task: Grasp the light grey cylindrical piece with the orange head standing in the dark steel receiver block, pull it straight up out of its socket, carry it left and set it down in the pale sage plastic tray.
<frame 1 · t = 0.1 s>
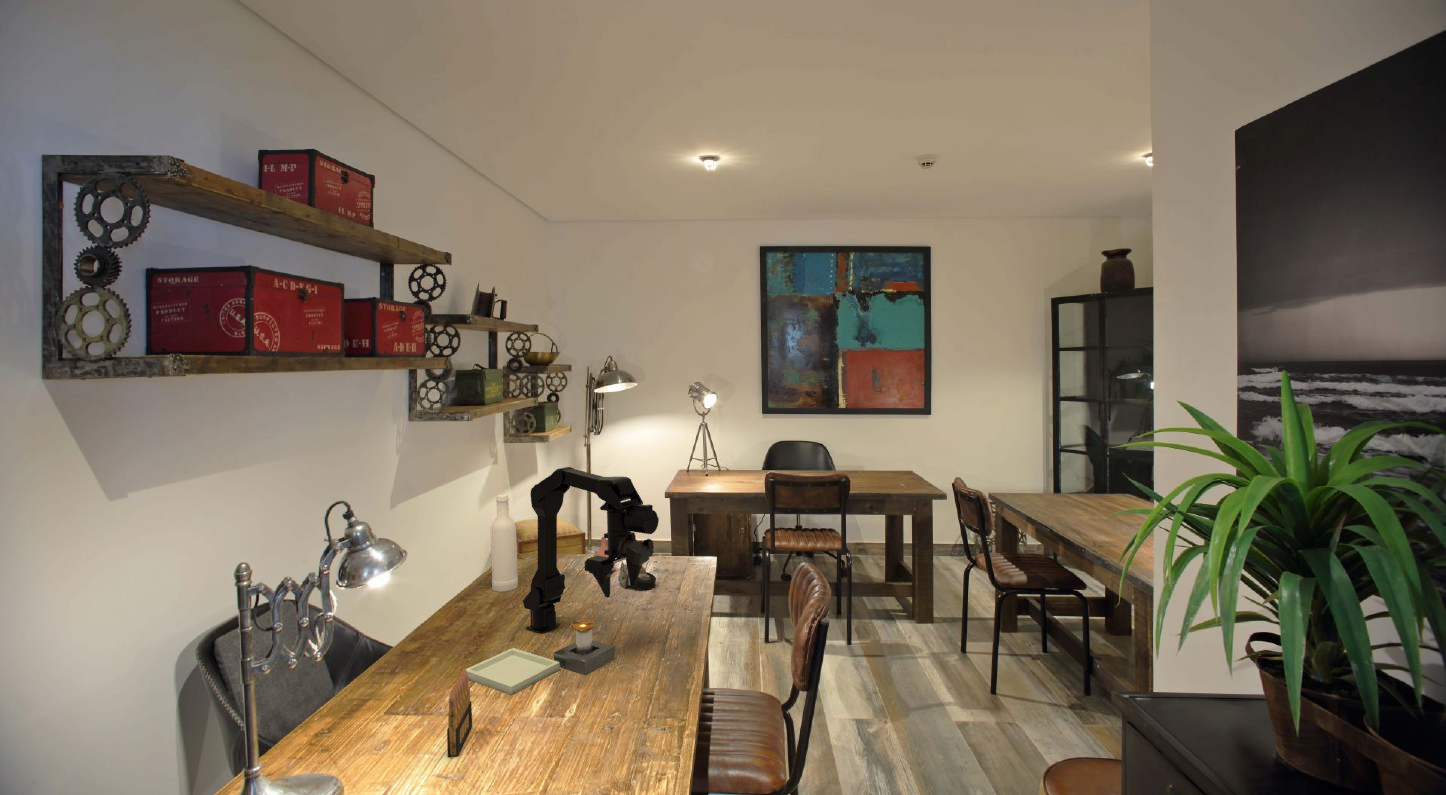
hand: (620, 591, 166), 15 cm above the table, fingers open, 9 cm apart
pink vase: (604, 572, 231), on the table
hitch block: (584, 662, 160), on the table
tray: (512, 673, 154), on the table
ammunition clip: (460, 742, 126), on the table
caster wheel: (638, 587, 215), on the table
bottle: (505, 588, 216), on the table
light grey cylindrical piece: (584, 642, 160), in the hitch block
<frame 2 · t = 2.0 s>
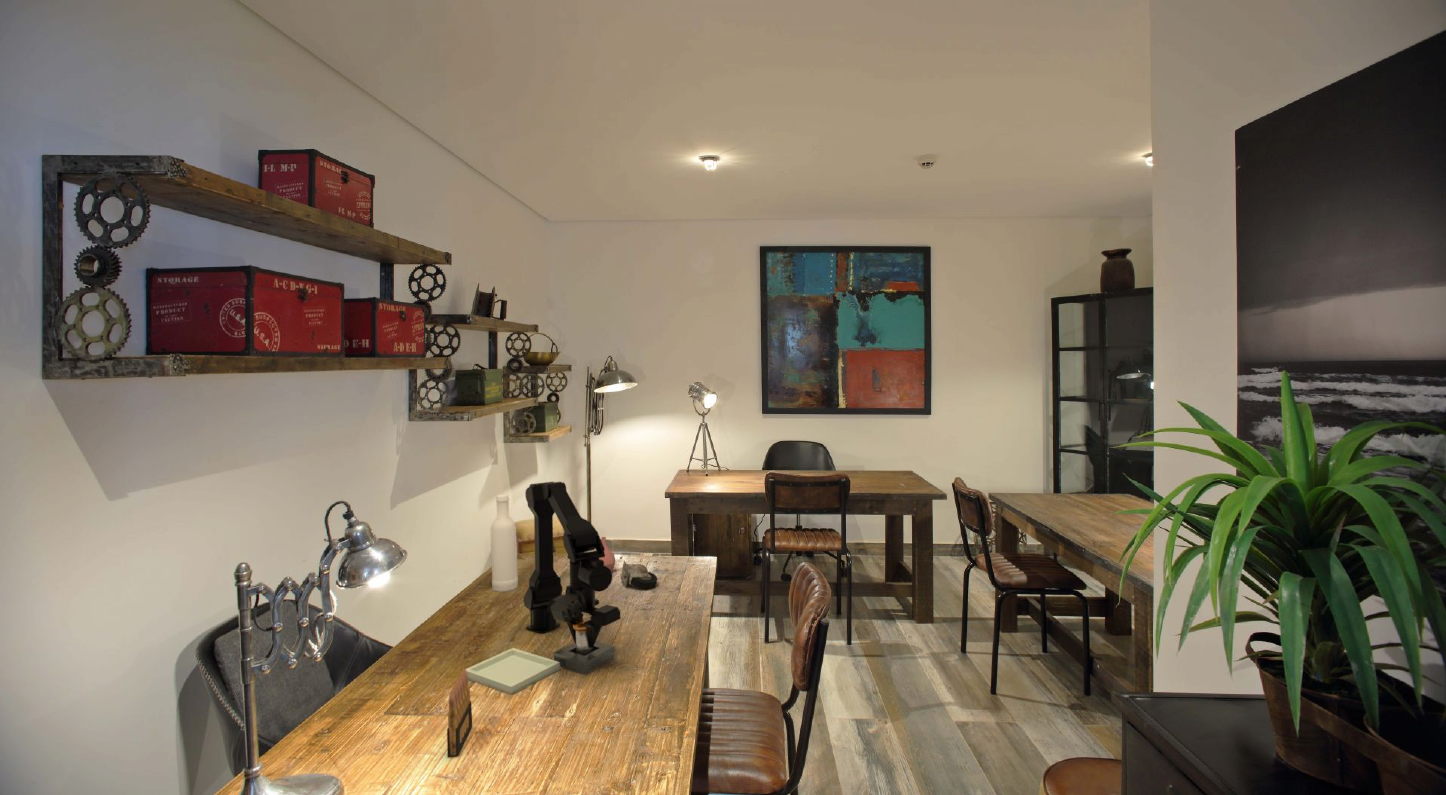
hand: (584, 645, 160), 4 cm above the table, fingers closed on light grey cylindrical piece, 4 cm apart
light grey cylindrical piece: (584, 642, 160), in the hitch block, touching gripper
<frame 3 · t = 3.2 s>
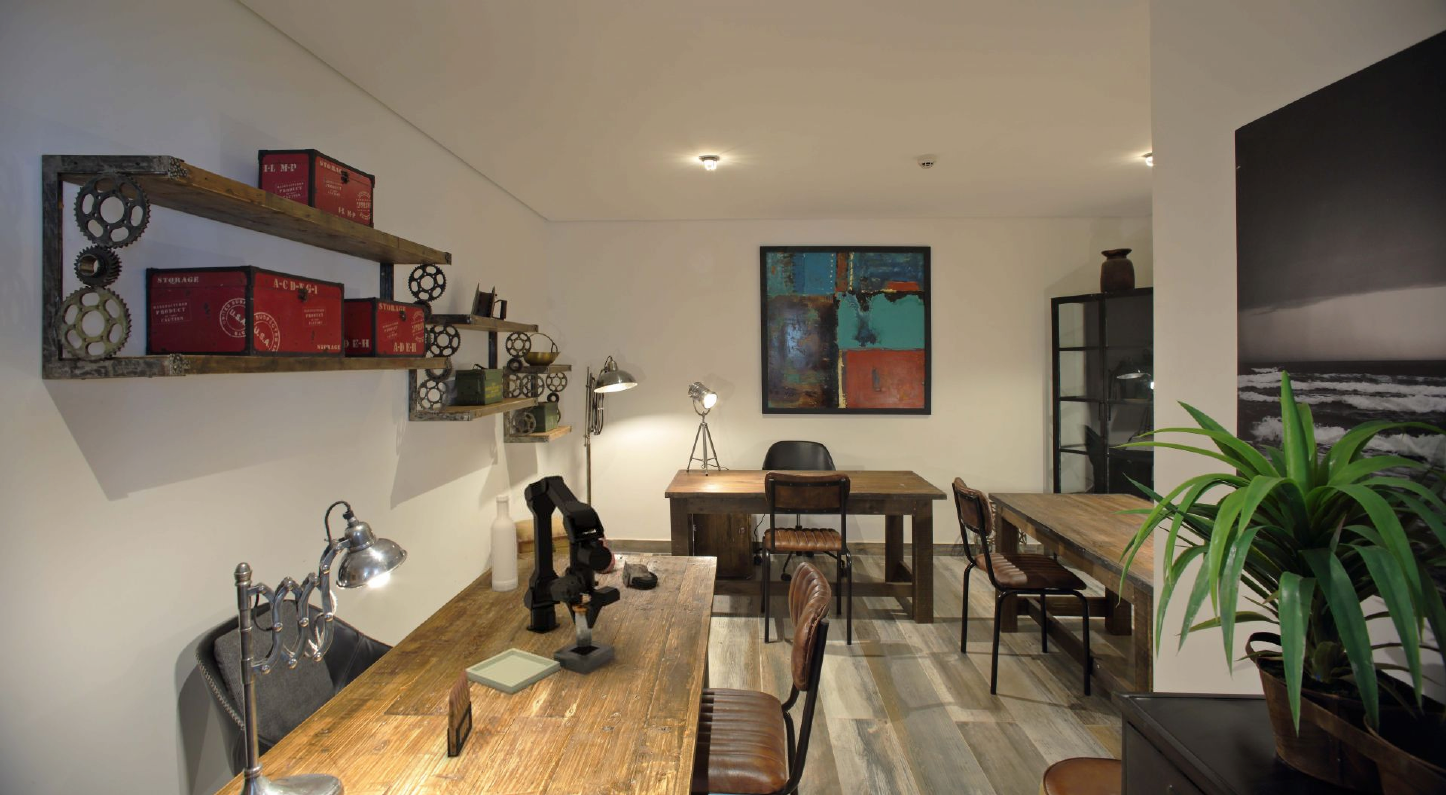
hand: (583, 626, 159), 9 cm above the table, fingers closed on light grey cylindrical piece, 4 cm apart
light grey cylindrical piece: (583, 623, 159), point 9 cm above the table, touching gripper
everything else where it was.
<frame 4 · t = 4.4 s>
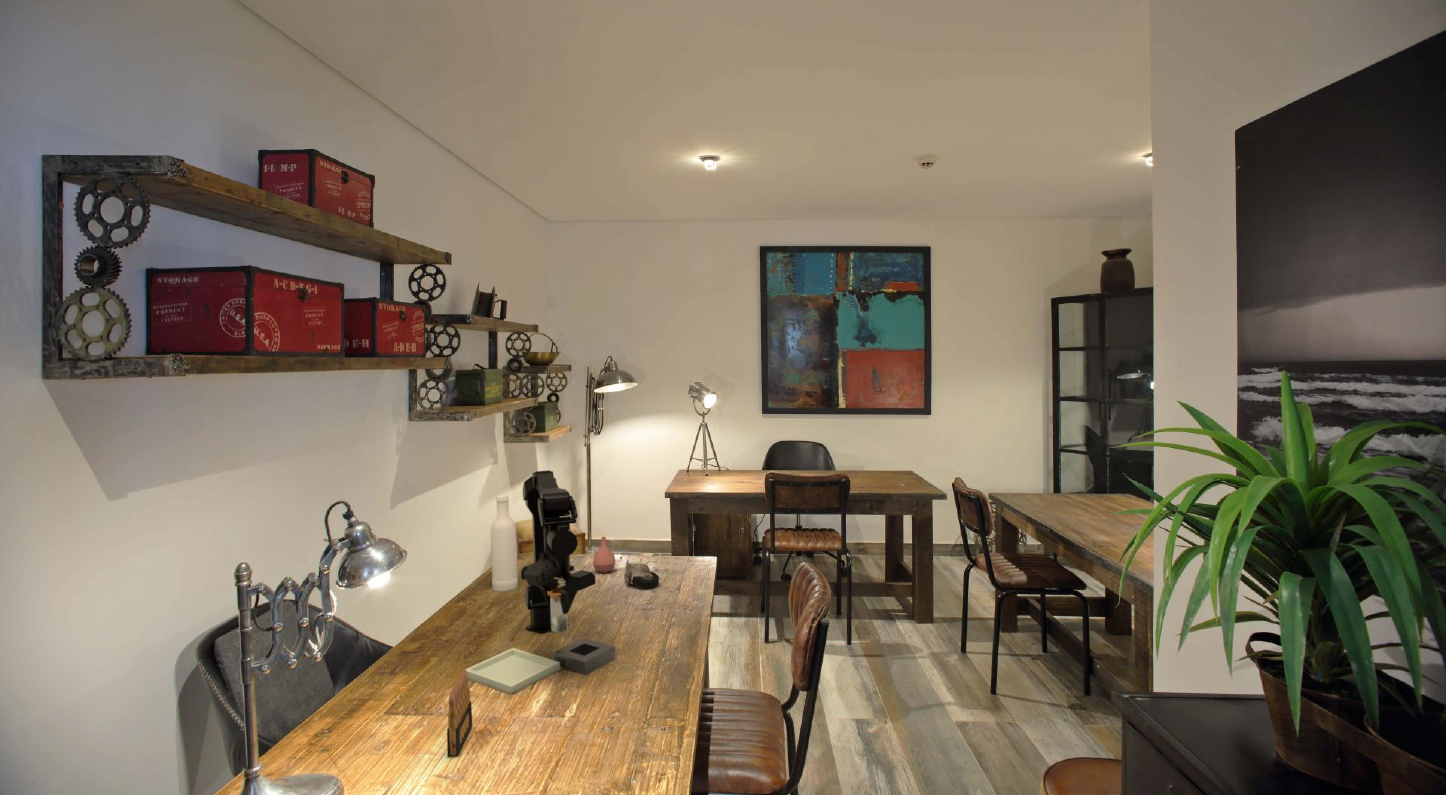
hand: (558, 611, 157), 13 cm above the table, fingers closed on light grey cylindrical piece, 4 cm apart
light grey cylindrical piece: (558, 608, 157), point 14 cm above the table, touching gripper
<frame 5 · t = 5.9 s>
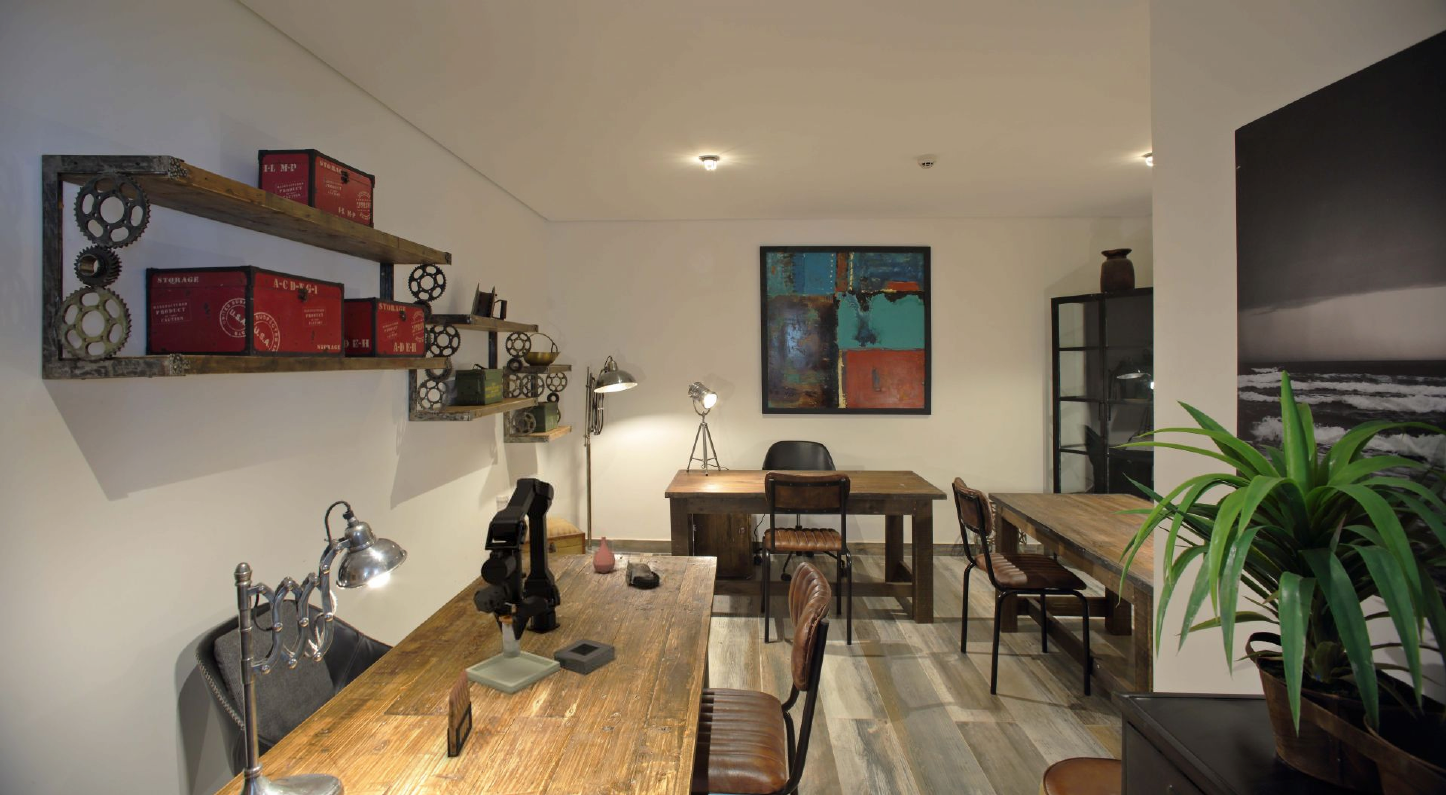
hand: (511, 637, 154), 8 cm above the table, fingers closed on light grey cylindrical piece, 4 cm apart
light grey cylindrical piece: (511, 634, 154), point 9 cm above the table, touching gripper
when the fingers open (5 cm above the table, at t = 6.8 s): light grey cylindrical piece stays where it is, resting on tray.
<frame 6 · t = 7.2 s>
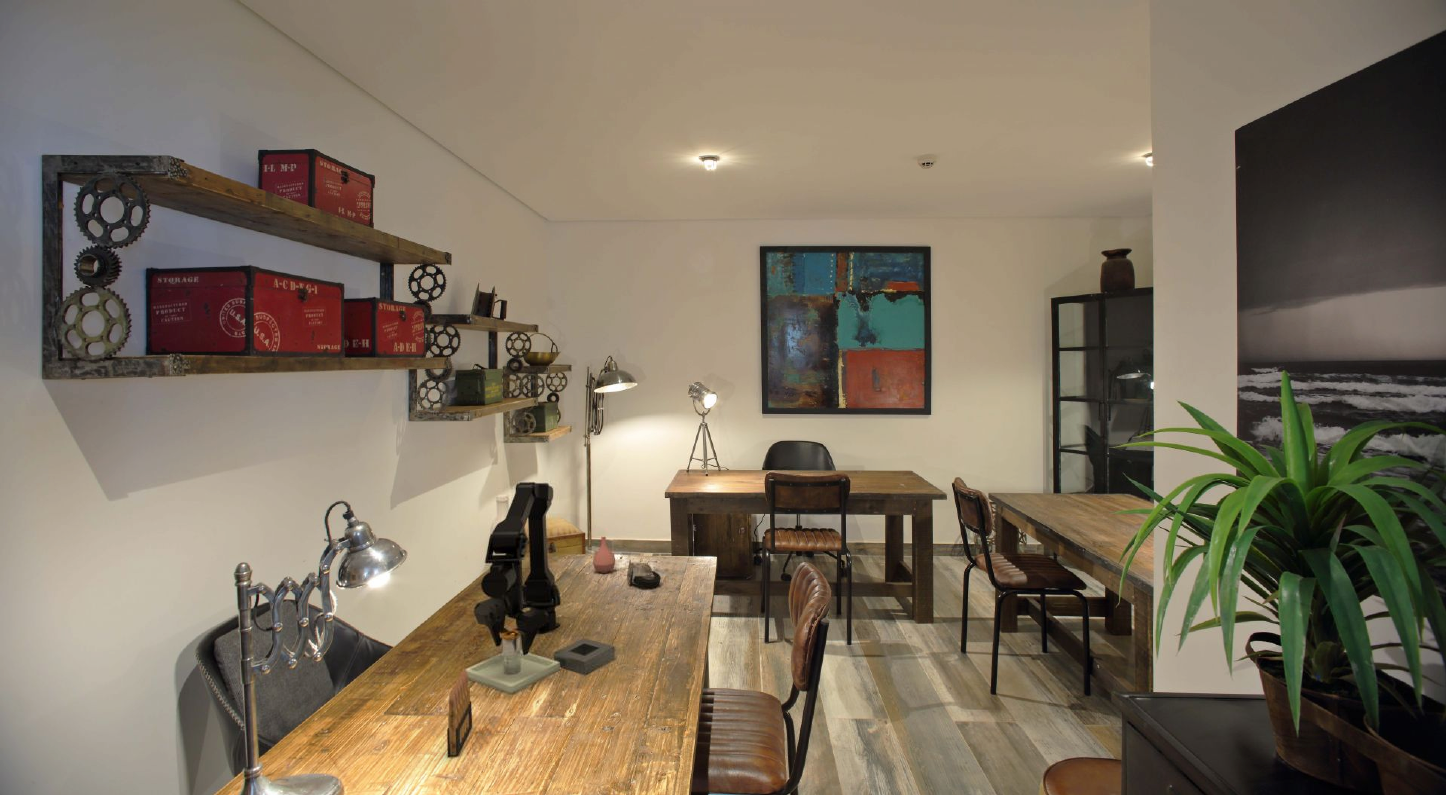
hand: (511, 650, 154), 5 cm above the table, fingers open, 9 cm apart
light grey cylindrical piece: (511, 650, 154), in the tray, point 5 cm above the table
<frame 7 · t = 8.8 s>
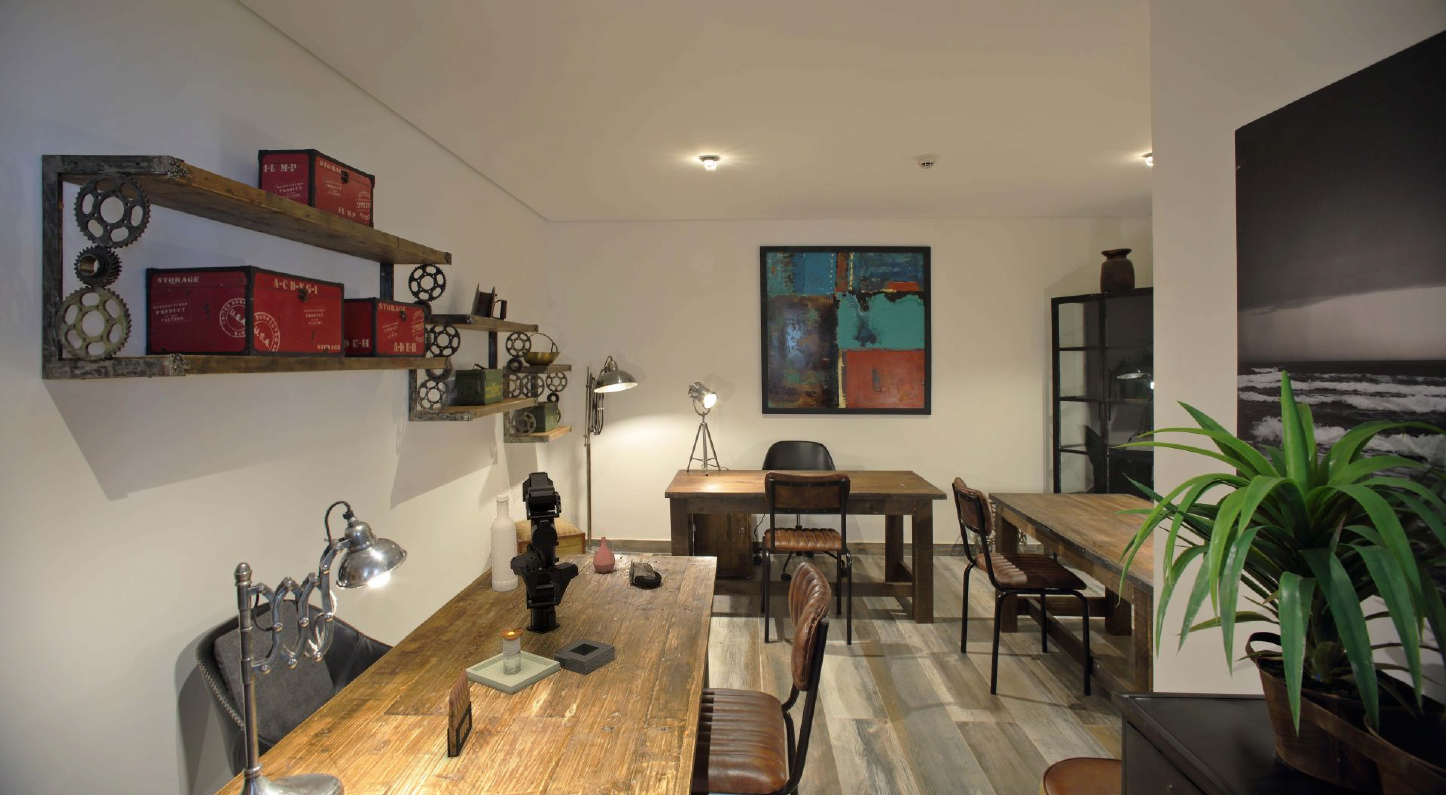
hand: (544, 600, 166), 13 cm above the table, fingers open, 9 cm apart
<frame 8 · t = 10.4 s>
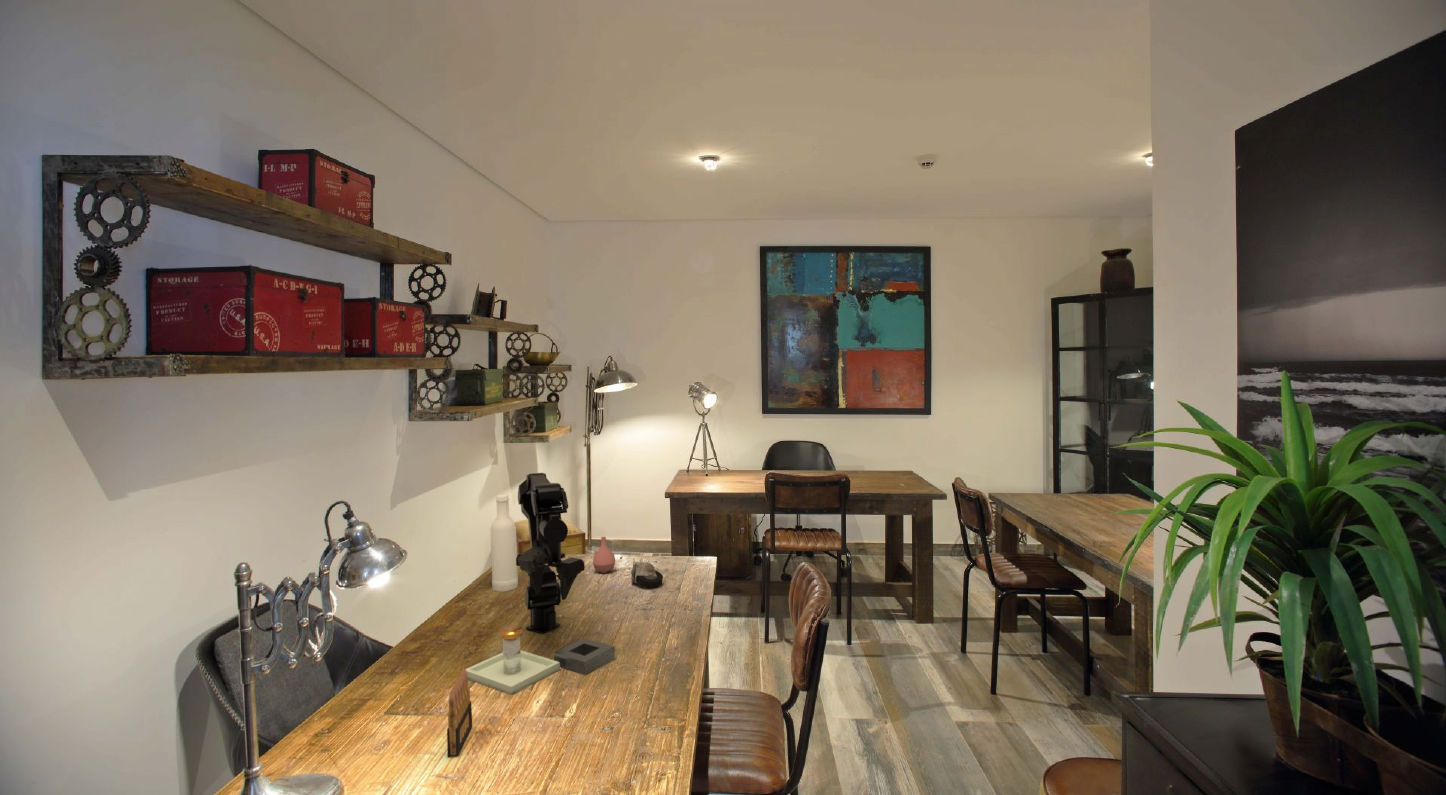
hand: (550, 596, 168), 13 cm above the table, fingers open, 9 cm apart
at the end: light grey cylindrical piece inside the target area on the tray (0.0 cm from its centre), point 5.4 cm above the tray's base; light grey cylindrical piece touching tray; the gripper is holding nothing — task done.
